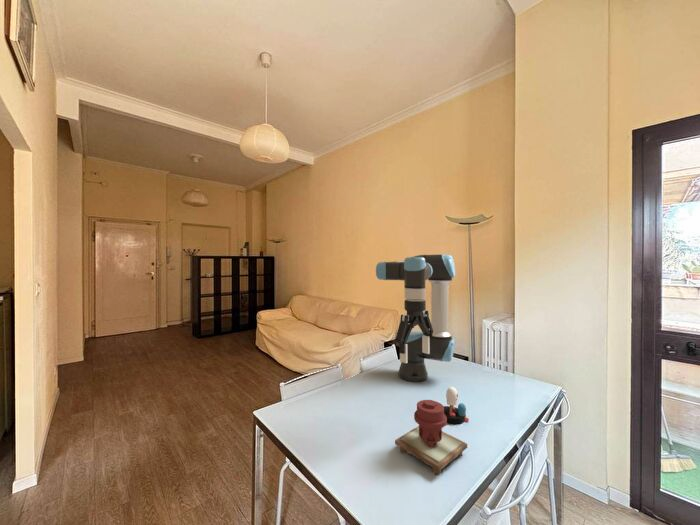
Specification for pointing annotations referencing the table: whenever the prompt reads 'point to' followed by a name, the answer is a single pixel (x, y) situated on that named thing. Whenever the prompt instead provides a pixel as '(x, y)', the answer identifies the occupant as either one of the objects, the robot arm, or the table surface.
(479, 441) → the table surface
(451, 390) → the figurine
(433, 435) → the mechanical component
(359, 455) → the table surface
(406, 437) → the stand
